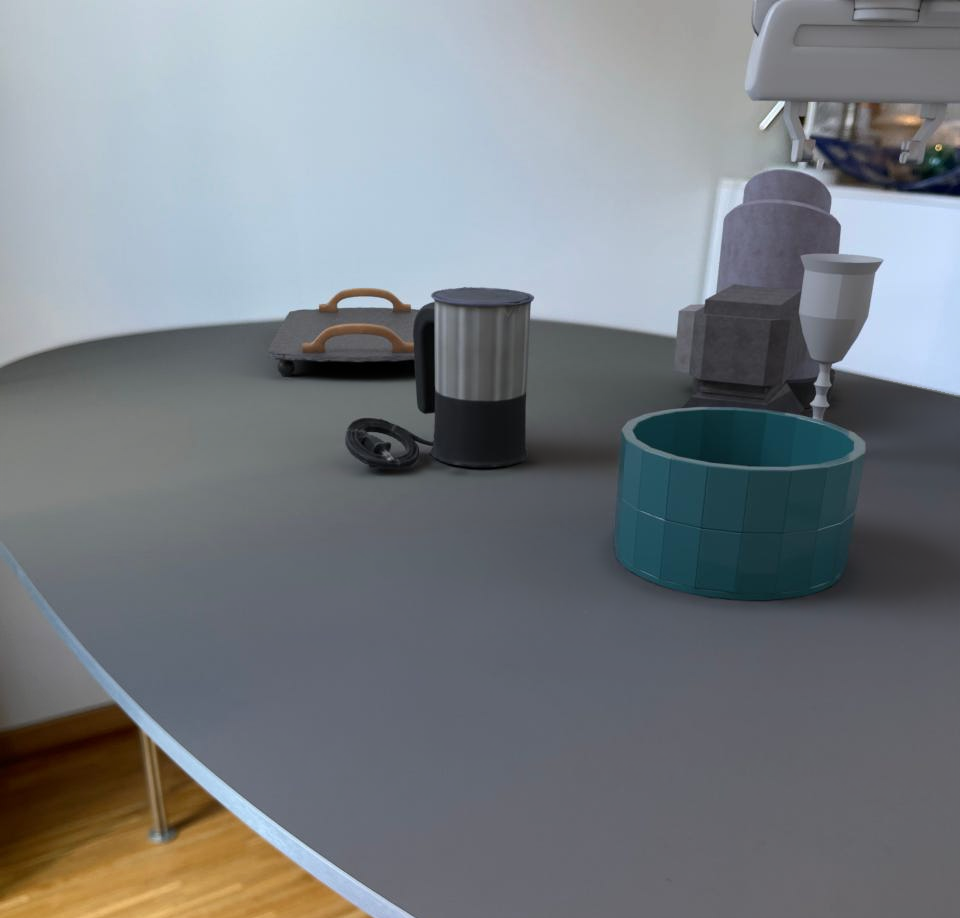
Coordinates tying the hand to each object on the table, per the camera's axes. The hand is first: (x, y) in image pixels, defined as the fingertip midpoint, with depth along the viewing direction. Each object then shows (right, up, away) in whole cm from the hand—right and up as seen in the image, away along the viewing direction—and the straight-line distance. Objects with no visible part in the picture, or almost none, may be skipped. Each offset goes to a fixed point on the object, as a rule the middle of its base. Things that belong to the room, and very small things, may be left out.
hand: (855, 163), depth 92 cm
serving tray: (-48, -1, +55) cm, 73 cm away
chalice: (0, -23, +11) cm, 26 cm away
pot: (-14, -35, -13) cm, 40 cm away
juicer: (-1, -14, +30) cm, 33 cm away
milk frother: (-36, -24, +8) cm, 44 cm away
